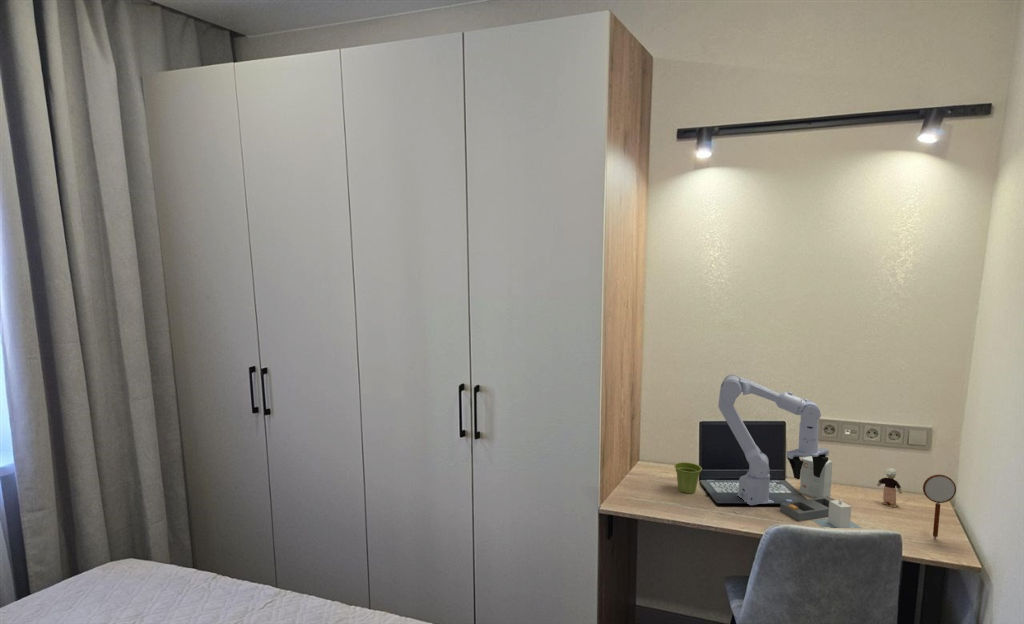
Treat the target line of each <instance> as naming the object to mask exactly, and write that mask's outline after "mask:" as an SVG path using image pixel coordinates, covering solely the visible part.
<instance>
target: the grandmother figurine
mask: <svg viewBox="0 0 1024 624" xmlns="http://www.w3.org/2000/svg"><path fill="white" fill-rule="evenodd" d="M884 475H886V477H883V478H881V479H879V480H878V482H877V483H876V485H877V487H880V486H881V485H884V487H883V494H882V495H883V497H882V498H883V499H882V500H883V502H882V505H885V504H886V505H885V506H888V505H889V506H890V507H892V506H893V507H892V508H896V507H895V506H898V507H899V505H898V503H897V491H898V494H903V491H902V486H901V485H900V483H899V482H898V481H897V480H895V479H894V478H896V476H897V470H896V469H895V468H892V467H891V468H887V469H886V470H885V471H884ZM896 488H897V489H896Z"/></svg>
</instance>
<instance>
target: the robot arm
mask: <svg viewBox="0 0 1024 624" xmlns="http://www.w3.org/2000/svg"><path fill="white" fill-rule="evenodd" d="M741 394H742V396H746V395H750V394H752V395H755V396H758V397H761V398H764V399H766V400H768V401H771V402H774V403H775V405H776V406H777V408H778V409H781V410H783V411H786V412H789V413H791V414H794V415H796V416H800V422H799V431H798V448H796V449H792V450H788V451H786V458H787V460H788V461H787V462H789V465H790V467H791V470H792V474H793V478H794V479H796V480H801V467H802V464H803V461H802V459H801V458H805V457H809V456H812V459H813V474H814V476H816V477H818V478H820V475H821V472H822V469H823V467H824V466H825V464H826V463H827V461H828V460H829V457H828V456H829V455H830V450H829V449H827V448H819V428H820V425H819V424H820V423H819V422H820V419H821V415H822V414H821V410H820V408H819V405H818V404H817V403H816V402H814V401H813V400H811V399H807V398H806V397H805V398H802V397H798V396H797V395H794V394H793V392H791V391H788V392H787V391H782V392H776V391H775V390H772V389H770V388H769V387H766V386H764V385H762V384H759V383H758V382H755V381H752V380H750V379H748V378H745V377H742V376H740V377H739V376H738V375H736V374H728V375H727V376H725V377H724V378H723V381H722V382H721V384H720V389H719V396H718V404H717V406H718V409H719V411H720V413H721V414H722V416H723V418H724V419H725V422H726V423H727V425H728V427H729V429H730V430H731V432H732V434H733V435H734V437H735V439H736V441H737V442H738V444H739V446H740V448H741V450H742V451H743V454H744V456H745V459H746V461H747V463H748V465H749V469H748V470H747V471H746V472H747V473H746V474H744V475H741V476H740V477H739V479H738V492H737V495H738V496H739V497H740V498H742V499H743V500H744V501H743V500H742V499H741V500H742V501H743V502H744V503H746V502H747V503H746V505H747V504H748V505H749V506H757V505H760V504H762V505H764V504H774V503H775V501H774V500H773V499H771V500H769V499H770V483H771V482H770V481H771V480H770V479H771V474H770V466H769V465H770V464H769V463H770V461H769V457H768V456H767V454H765V453H763V452H762V451H761V449H760V448H759V446H758V445H757V444H756V443H755V440H754V439H753V437H752V435H751V433H750V432H749V430H748V428H747V426H746V425H745V423H744V421H743V420H742V418H741V416H740V414H739V412H738V411H737V409H736V408H735V406H734V405H735V403H736V399H738V398H739V396H740V395H741ZM739 497H738V498H739ZM740 498H739V499H740Z"/></svg>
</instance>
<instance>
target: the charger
mask: <svg viewBox="0 0 1024 624" xmlns="http://www.w3.org/2000/svg"><path fill="white" fill-rule="evenodd" d="M851 516H852V506H851V505H850V504H847V503H845V502H844V501H843V499H841V498H840V499H835V500H832V501H829V514H828V517H827V519H828V522H829V523H830V524H832V525H834V526H835V527H837V528H850V521H851V518H852V517H851Z"/></svg>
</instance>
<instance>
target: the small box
mask: <svg viewBox="0 0 1024 624" xmlns="http://www.w3.org/2000/svg"><path fill="white" fill-rule="evenodd" d="M801 460H802V461H803V464H802V467H801V475H800V484H799V493H800V494H803V495H806V496H809V497H813V498H821V497H831V492H832V491H831V489H832V477H833V461H832V460H830V459H828V461H827V463H826V464H825V466H824V467H823V469H822V472H821V475H820V478H818V477H816V476H814V474H813V459H812V456H809V457H801Z"/></svg>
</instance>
